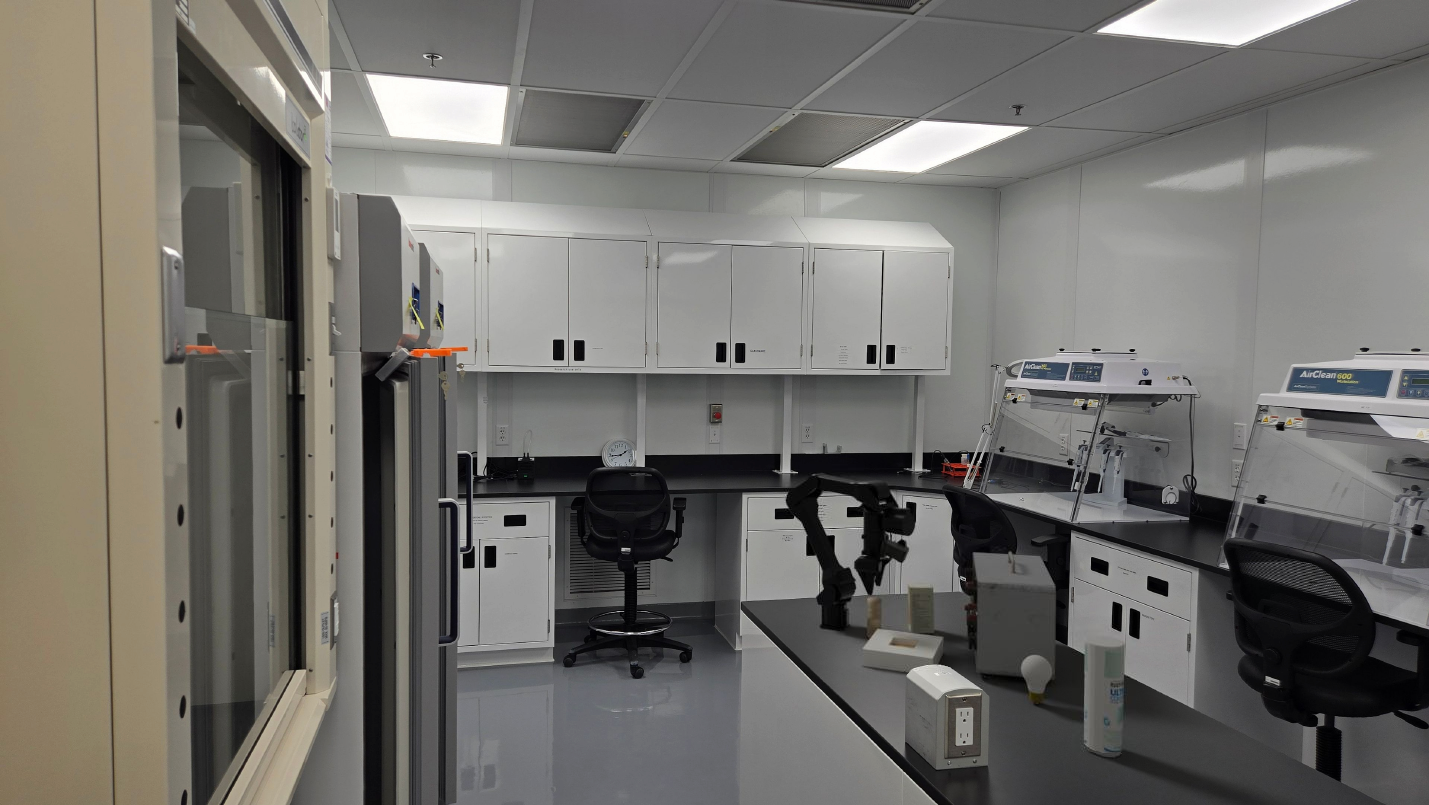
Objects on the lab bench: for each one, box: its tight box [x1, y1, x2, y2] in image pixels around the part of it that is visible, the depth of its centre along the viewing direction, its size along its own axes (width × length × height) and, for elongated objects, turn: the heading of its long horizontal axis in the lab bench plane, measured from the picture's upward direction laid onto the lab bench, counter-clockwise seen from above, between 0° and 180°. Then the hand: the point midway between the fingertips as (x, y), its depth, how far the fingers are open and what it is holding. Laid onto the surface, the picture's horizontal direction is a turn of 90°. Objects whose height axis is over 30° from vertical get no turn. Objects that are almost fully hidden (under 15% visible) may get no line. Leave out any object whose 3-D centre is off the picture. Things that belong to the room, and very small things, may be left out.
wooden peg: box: [866, 596, 883, 639], centre depth 210 cm, size 4×4×10 cm
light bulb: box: [1021, 655, 1052, 704], centre depth 168 cm, size 6×6×10 cm
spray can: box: [1083, 634, 1126, 753], centre depth 147 cm, size 6×6×20 cm
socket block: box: [861, 629, 944, 673], centre depth 194 cm, size 16×16×4 cm
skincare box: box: [907, 583, 935, 634], centre depth 215 cm, size 6×4×12 cm
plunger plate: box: [894, 644, 915, 648], centre depth 194 cm, size 5×5×1 cm
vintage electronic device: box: [964, 550, 1057, 683], centre depth 194 cm, size 32×18×25 cm, turn 164°
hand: (874, 590), depth 209 cm, fingers open, 9 cm apart
